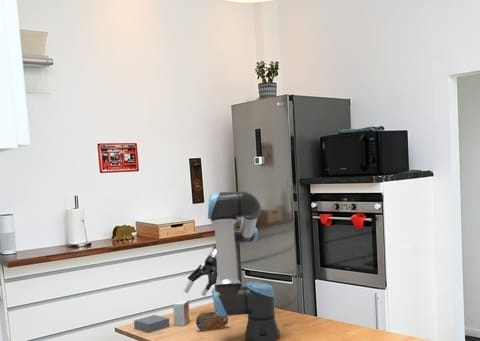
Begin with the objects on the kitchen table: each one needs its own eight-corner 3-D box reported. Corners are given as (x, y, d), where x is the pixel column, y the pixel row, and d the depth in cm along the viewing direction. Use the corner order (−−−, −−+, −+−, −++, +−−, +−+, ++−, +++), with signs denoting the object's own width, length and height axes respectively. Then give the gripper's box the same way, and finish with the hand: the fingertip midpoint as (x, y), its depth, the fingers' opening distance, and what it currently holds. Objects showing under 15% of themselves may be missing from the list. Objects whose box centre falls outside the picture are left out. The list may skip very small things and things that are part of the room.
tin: (197, 332, 221) (196, 314, 222) (195, 330, 224) (194, 312, 225) (228, 328, 225) (227, 310, 226) (227, 326, 228) (226, 308, 229)
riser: (169, 326, 233) (169, 318, 233) (148, 332, 224) (148, 324, 225) (154, 322, 241) (154, 314, 242) (134, 328, 233) (134, 320, 233)
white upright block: (184, 326, 233) (183, 304, 233) (173, 326, 234) (172, 304, 234) (189, 321, 241) (188, 300, 241) (179, 321, 242) (178, 300, 242)
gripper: (234, 265, 249) (214, 300, 238) (202, 262, 266) (182, 294, 255) (226, 256, 245) (205, 291, 234) (194, 253, 263) (174, 286, 252)
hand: (193, 293), depth 245 cm, fingers open, 13 cm apart
